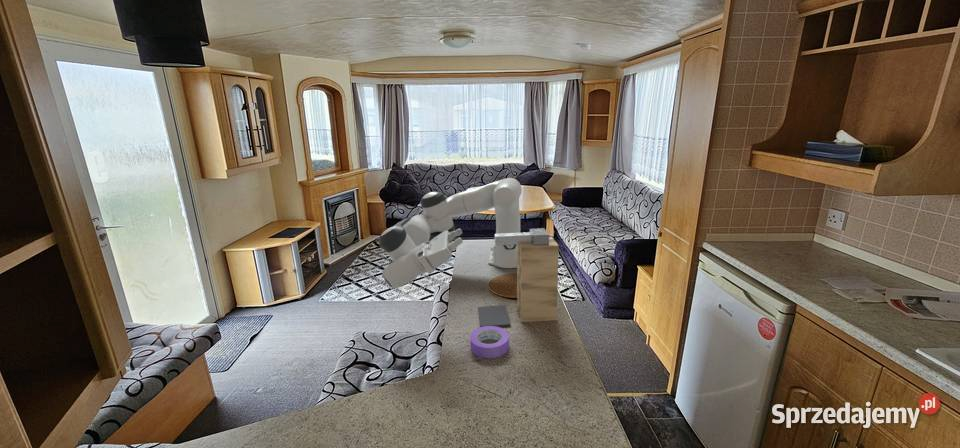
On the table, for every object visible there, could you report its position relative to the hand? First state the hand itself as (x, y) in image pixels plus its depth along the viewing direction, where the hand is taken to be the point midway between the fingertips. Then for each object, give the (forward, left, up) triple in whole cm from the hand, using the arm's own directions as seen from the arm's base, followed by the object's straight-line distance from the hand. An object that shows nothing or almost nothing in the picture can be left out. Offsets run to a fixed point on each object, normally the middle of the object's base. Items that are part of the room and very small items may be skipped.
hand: (461, 234), depth 128 cm
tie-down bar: (+2, +19, -3) cm, 20 cm away
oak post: (+2, +25, -30) cm, 39 cm away
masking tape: (+19, +7, -31) cm, 36 cm away
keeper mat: (+2, +10, -30) cm, 32 cm away
